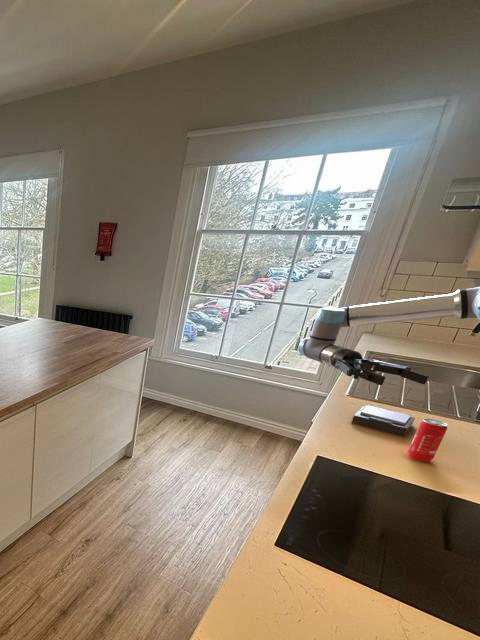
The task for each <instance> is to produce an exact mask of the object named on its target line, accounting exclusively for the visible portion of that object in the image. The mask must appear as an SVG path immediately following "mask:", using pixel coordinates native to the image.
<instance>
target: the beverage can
mask: <svg viewBox="0 0 480 640" xmlns="http://www.w3.org/2000/svg"><path fill="white" fill-rule="evenodd" d="M447 430H448V424H447V423H446V422H444V421H441V420H438V419H432V418H423V419H422V420H420V422H419V425H418V427H417V430H416V431H415V433H414V436H413V438H412V440H411V443H410V446H409V448H408V450H407V456H408V457H409V458H410V459H412V460H414V461H417V462H421V463H430V462H431V461H432V460H434V458H435V455H436V454H437V452H438V449H439V447H440V445H441V444H442V441H443V438H444V436H445V434H446V432H447Z"/></svg>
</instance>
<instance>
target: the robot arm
mask: <svg viewBox="0 0 480 640" xmlns="http://www.w3.org/2000/svg"><path fill="white" fill-rule="evenodd" d="M452 317H453V318H456V319H458V320H464V319H477V320H478V321H479V322H480V286H477V287H471V288H465V289H464V288H463V289H457V290H456V291H455V292H453V293H448V294H441V295H434V296H425V297H417V298H409V299H400V300H393V301H386V302H377V303H368V304H359V305H353V306H345V307H344V306H343V307H321V308H320V309H319V310H318V312H317V314H316V316H315V320H314V323H313V325H312V329H311V333H310V335H309V336H308V337H305V338H304V339H302V340H301V342H299V344H298V346H297V349H298V350H297V351H298V352H299V354H300V355H301V356H304V357H306V358H307V359H310V360H313V361H315V362H319V363H322V364H324V365H327V366H328V367H329V368H334V369H337V370H339V371H341V373H343V374H345V376H347V377H352V379H354V380H358V379H359V378H360V379H363V380H366V381H369V382H370V383H373V384H375V385H378V386H383V384H384V382H385V380H386V376H385V375H382V374H378V373H376V372H380V373H385V374H390V375H395V376H400V377H401V378H404V379H406V380H408V381H412V382H414V383H417V384H421V385H426V383H427V381H428V379H429V375H427V374H423V373H420V372H418V371H415V370H412V367H410V366H409V365H406V366H405V365H400V364H396V363H390V362H386V361H382V360H378V359H375V358H374V359H373V358H372V359H371V360H370V359H368V358H364V357H363V355H362V354H361V353H360V352H359V351H357V350H353V349H350V348H348V347H345V346H341V345H338V344H335V343H336V340H337V337H338V335H339V333H340V330H341V328H348V327H349V328H350V327H360V326H370V325H380V324H392V323H402V322H411V321H412V322H413V321H420V320H422V321H423V320H431V319H444V318H452Z"/></svg>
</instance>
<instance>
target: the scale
mask: <svg viewBox="0 0 480 640" xmlns="http://www.w3.org/2000/svg"><path fill="white" fill-rule="evenodd" d="M415 420H416V419H415V417H413V416H412V415H410V414H406V413H403V412H399V411H398V412H397V411H395V410H389V409H386V408H381V407H377V406H372V405H363V406H362V407H361V408H360V409H359V410H358V411H357V412H356V413H355V414H354V415H353V417H352V420H351V422H350V423H352V424H354V425H358V426H363V427H365V428H370V429H373V430H377V431H380V432H383V433H389V434H392V435H395V436H399V437H405V435H406V434H407V433H408V432H409V430H410V429H411V427H412V426H413V424H414V421H415Z"/></svg>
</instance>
